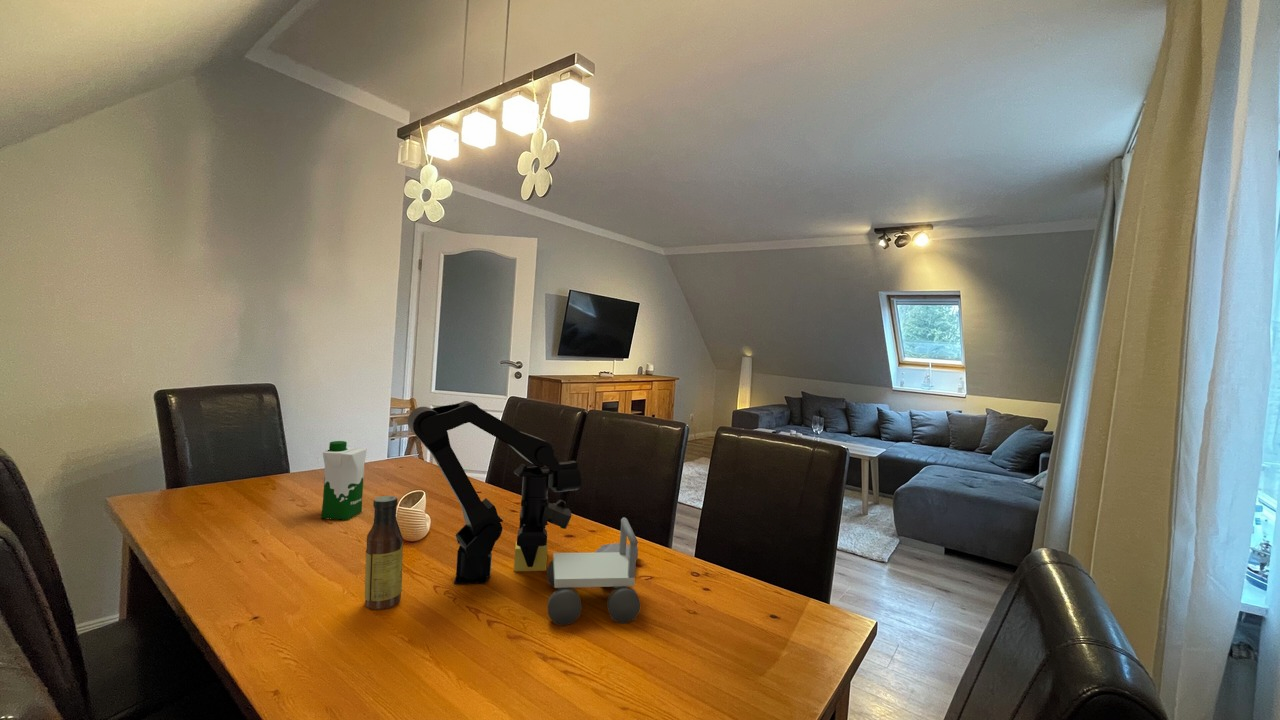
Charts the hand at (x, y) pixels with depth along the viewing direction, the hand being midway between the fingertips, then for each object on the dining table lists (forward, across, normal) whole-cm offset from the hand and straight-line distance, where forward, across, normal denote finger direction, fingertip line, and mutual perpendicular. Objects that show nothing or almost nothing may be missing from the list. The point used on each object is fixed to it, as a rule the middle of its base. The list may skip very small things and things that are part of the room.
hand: (530, 562), depth 116 cm
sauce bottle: (+1, -15, +27) cm, 31 cm away
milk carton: (+1, +34, +51) cm, 61 cm away
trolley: (+1, -17, -12) cm, 21 cm away
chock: (+1, 0, 0) cm, 1 cm away
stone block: (+2, 0, -19) cm, 19 cm away
